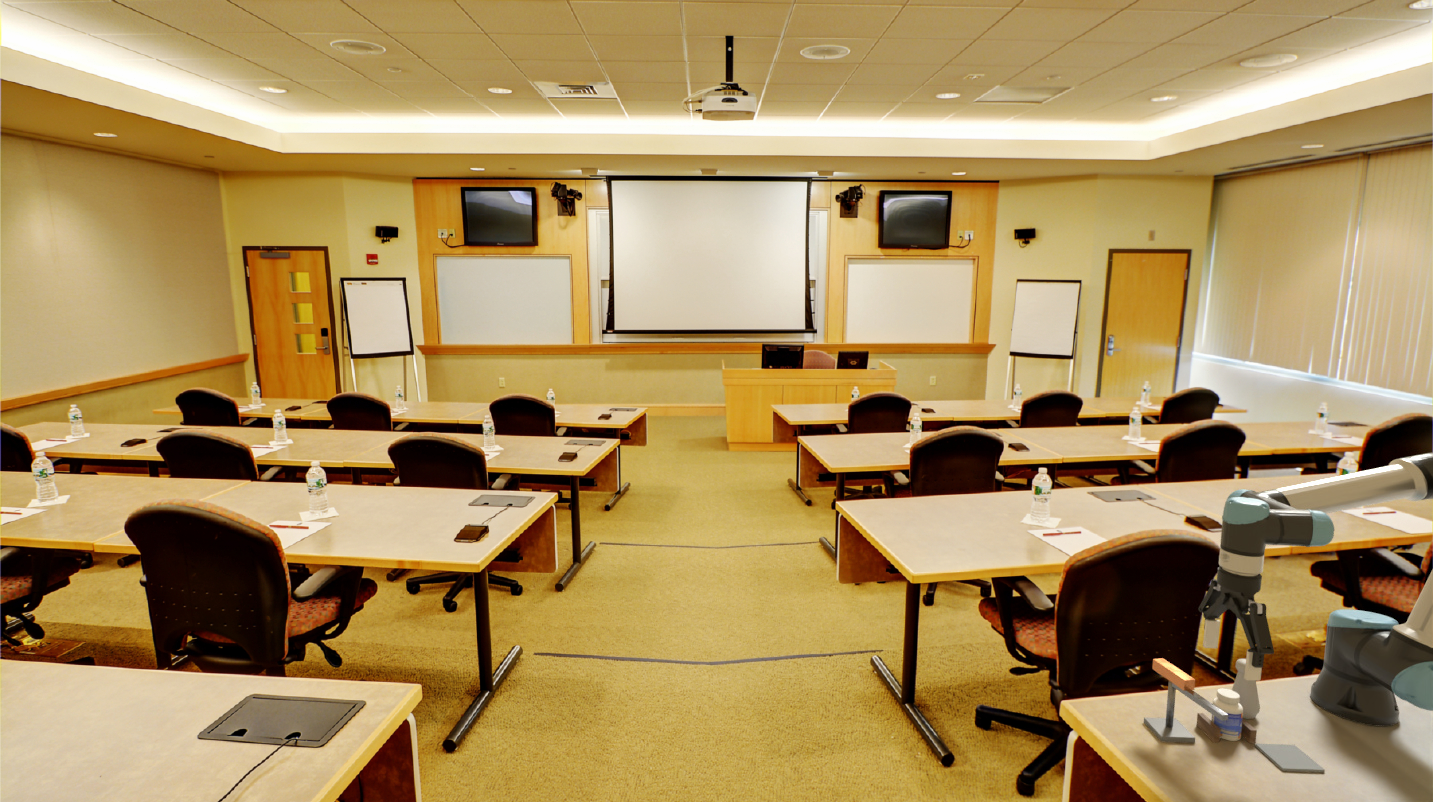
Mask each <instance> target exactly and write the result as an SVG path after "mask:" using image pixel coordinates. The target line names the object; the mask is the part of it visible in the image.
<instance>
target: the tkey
mask: <svg viewBox="0 0 1433 802" xmlns="http://www.w3.org/2000/svg"><path fill="white" fill-rule="evenodd" d="M1152 670H1153V671H1155V672H1156V673H1158V674H1159V675H1160V676H1162V677H1163V678H1164V679H1167V680H1168V684H1167V685H1168V688H1167V697H1166V698H1167V699H1166V712H1165V713H1166V714H1165V718H1166V723H1165V725H1166V727H1169V728H1173V720H1174V718H1175V717H1174V716H1175V704H1176V692H1177V691H1178V692H1179V693H1181V694H1183V695H1184V696H1185V697H1187V698H1188V699H1190V700H1191V701H1193V702H1194V703H1195V704H1197V706H1200V707H1201V708H1202V709H1204V710H1206V711H1207V712H1208V713H1210V714H1211V715H1212V714H1213V715H1214V716H1215V717H1217V718H1218V719H1220V720H1221V721H1225V720H1228V714H1227V713H1225V712H1224V711H1222V710H1221V709H1219V708H1218V707H1216V706H1215V705H1213V702H1210V701H1209V700H1208V699H1206V698H1204V696H1202V695H1200V694H1199V693H1197V692H1195V691H1194V690H1195V688H1196V687H1195V686H1196V679H1195V678H1194V677H1192V676H1191V675H1189V674H1188V673H1186V672H1184V671H1183V670H1182V669H1180V668H1179V667H1177V666H1176V665H1174V664H1173V663H1170V661H1167V659H1165V658H1163V657H1162V658H1153V659H1152Z"/></svg>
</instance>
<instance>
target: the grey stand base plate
mask: <svg viewBox="0 0 1433 802" xmlns="http://www.w3.org/2000/svg"><path fill="white" fill-rule="evenodd" d="M1165 723H1166V717H1143V724H1144V725H1145V726H1146V727H1147V728H1148V729H1149V730H1150V731H1151V732H1152V733H1153V734H1154V735H1155V737H1157V739H1158V740H1159V741H1160V742H1163V743H1187V744H1188V743H1191V744H1192V743H1194V744H1195V743H1196V737H1195V736H1194V735H1193V734H1192V732H1190V731H1189V730H1188V728H1187V727H1185V725H1184V724H1182V723H1181V721H1179V719H1177V718H1176V717H1174V720H1173V728H1169V727H1166V725H1165Z"/></svg>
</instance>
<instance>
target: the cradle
mask: <svg viewBox="0 0 1433 802" xmlns="http://www.w3.org/2000/svg"><path fill="white" fill-rule="evenodd" d="M1211 720H1212V719H1210V718H1209V717H1208V716H1207V715H1206V714H1205V713H1203V712H1197V715H1196V727H1198V728H1199V729H1200V730H1201V732H1203V733H1204V734H1205V736H1207V737H1208V738H1209V739H1210V740H1211V741H1212V742H1213V743H1220V741H1221V740H1220V739H1221V738H1220V731H1221V729H1220V728H1219V727H1218V726H1216V725H1215V724H1214V723H1213V722H1212V721H1211ZM1241 738H1243V739H1244V740H1245V741H1247V742H1248V743H1249V744H1257V743H1256V742H1257V729H1256V728H1255V727H1253V726H1252V725H1251V724H1250V723H1249V722H1248V721H1246V719H1245V718H1242V730H1241Z"/></svg>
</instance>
